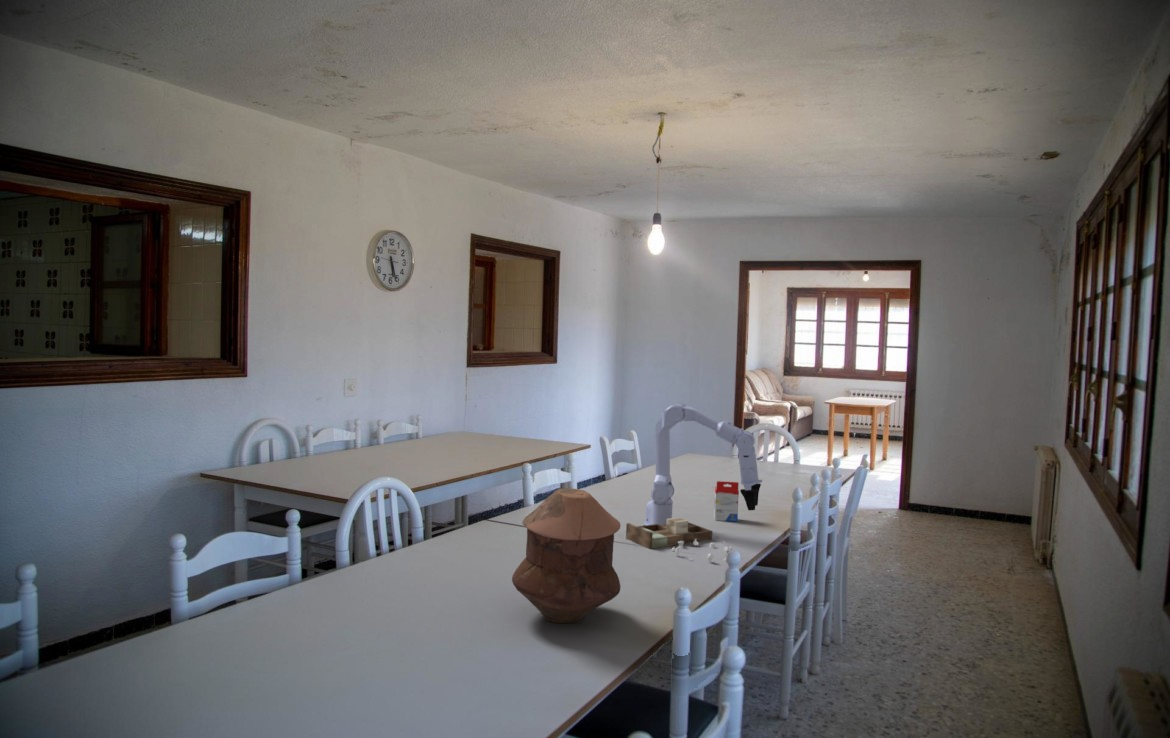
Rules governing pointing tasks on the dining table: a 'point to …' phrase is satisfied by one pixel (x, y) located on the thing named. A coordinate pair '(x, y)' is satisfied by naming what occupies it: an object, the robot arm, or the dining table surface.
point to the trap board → (665, 535)
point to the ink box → (726, 501)
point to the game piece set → (695, 542)
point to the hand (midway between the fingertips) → (753, 507)
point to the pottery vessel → (568, 556)
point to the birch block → (677, 525)
